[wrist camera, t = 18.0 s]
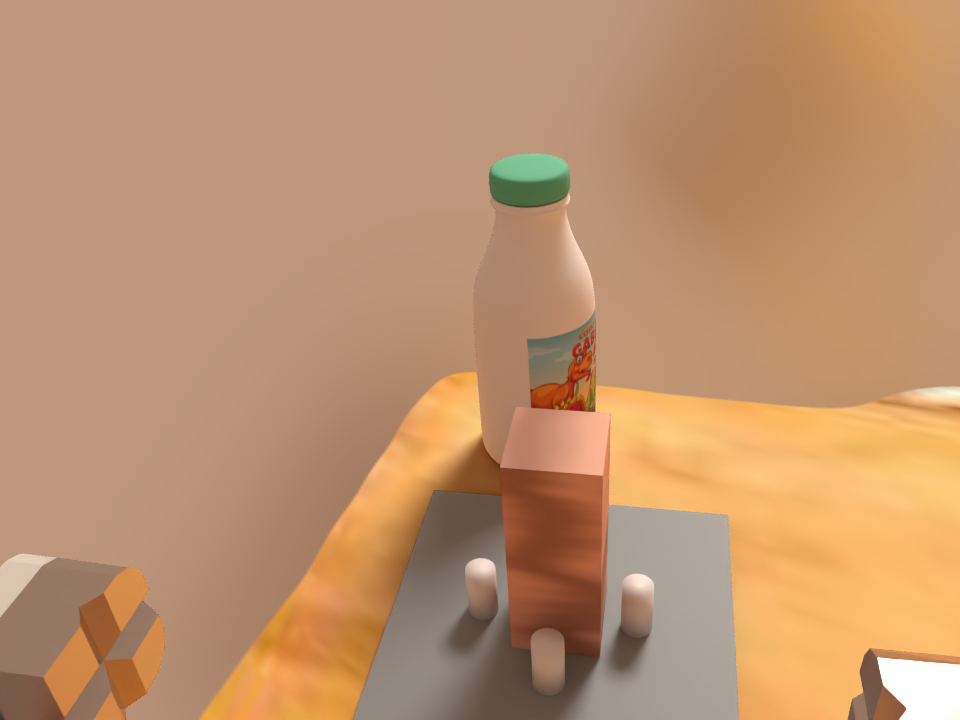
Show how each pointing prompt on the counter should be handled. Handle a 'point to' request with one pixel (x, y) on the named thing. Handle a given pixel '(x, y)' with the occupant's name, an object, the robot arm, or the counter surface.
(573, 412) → the terracotta post
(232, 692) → the counter surface
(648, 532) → the peg plate
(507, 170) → the milk bottle
